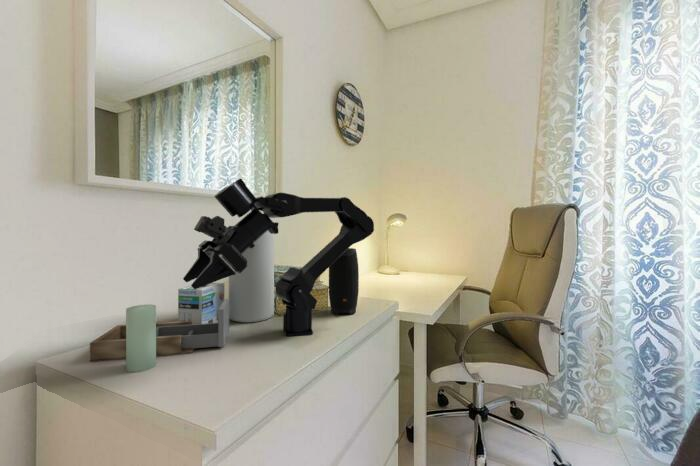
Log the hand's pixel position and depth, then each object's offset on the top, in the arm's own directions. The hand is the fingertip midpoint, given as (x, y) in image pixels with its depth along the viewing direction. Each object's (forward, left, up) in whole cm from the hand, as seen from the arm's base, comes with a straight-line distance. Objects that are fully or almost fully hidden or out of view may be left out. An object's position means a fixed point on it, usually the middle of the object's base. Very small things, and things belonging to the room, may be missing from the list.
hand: (188, 283), depth 64 cm
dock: (+8, -6, -14) cm, 18 cm away
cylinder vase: (-11, -25, -15) cm, 31 cm away
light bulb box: (+1, -19, -15) cm, 24 cm away
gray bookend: (+1, -6, -14) cm, 16 cm away
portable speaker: (-38, -24, -15) cm, 47 cm away
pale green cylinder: (+7, +4, -14) cm, 17 cm away
